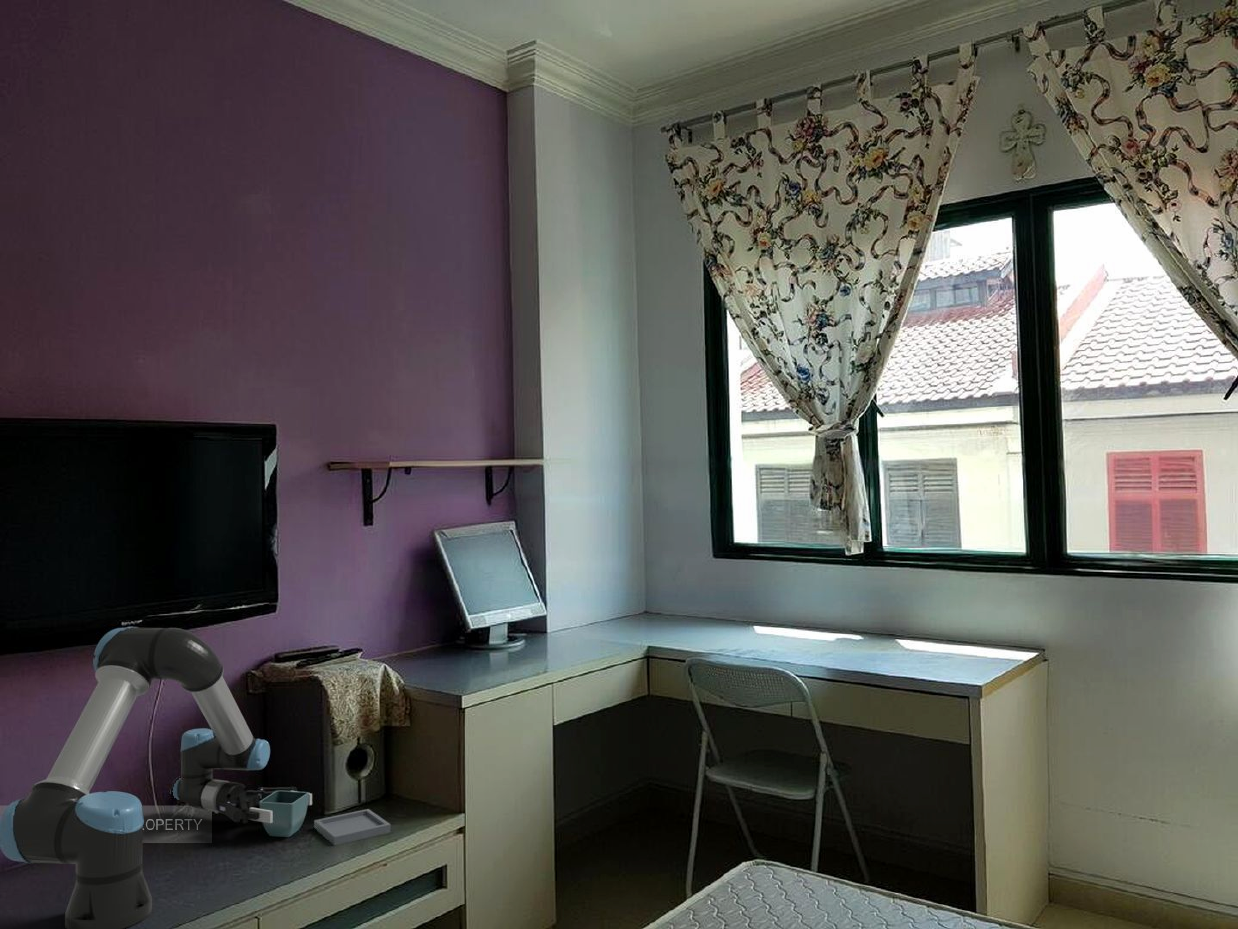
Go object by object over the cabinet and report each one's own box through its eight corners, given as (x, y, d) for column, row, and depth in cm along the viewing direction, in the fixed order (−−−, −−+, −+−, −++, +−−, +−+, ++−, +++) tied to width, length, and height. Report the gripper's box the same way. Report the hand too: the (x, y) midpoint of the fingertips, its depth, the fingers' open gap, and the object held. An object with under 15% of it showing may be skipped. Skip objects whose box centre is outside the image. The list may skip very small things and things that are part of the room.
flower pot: (292, 841, 230) (292, 803, 230) (257, 839, 231) (258, 801, 232) (309, 828, 239) (309, 792, 239) (276, 826, 240) (276, 790, 240)
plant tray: (334, 845, 227) (334, 837, 227) (314, 828, 238) (314, 820, 239) (390, 832, 236) (390, 824, 236) (368, 816, 247) (368, 809, 247)
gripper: (261, 797, 254) (326, 807, 246) (185, 828, 231) (253, 841, 223) (261, 768, 254) (326, 778, 246) (185, 797, 231) (253, 808, 223)
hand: (291, 808), depth 235 cm, fingers open, 13 cm apart
